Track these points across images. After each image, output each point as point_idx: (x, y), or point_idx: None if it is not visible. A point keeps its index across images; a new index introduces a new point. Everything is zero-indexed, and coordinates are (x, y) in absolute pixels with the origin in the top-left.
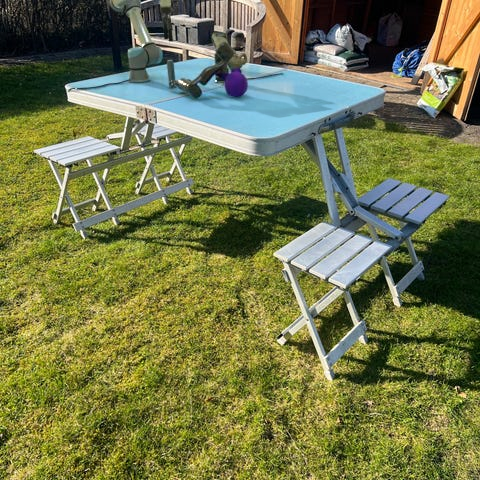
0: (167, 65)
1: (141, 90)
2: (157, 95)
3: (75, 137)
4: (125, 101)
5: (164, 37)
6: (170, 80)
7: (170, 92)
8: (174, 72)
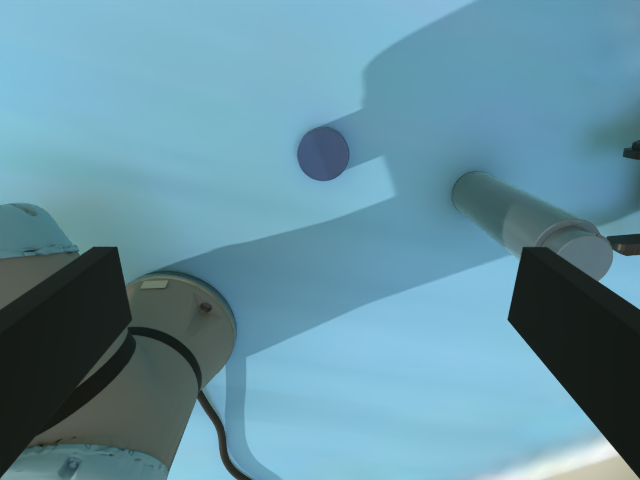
0: None
1: (441, 357)
2: None
3: None
4: None
5: (112, 342)
6: (622, 250)
7: None
8: (539, 198)
